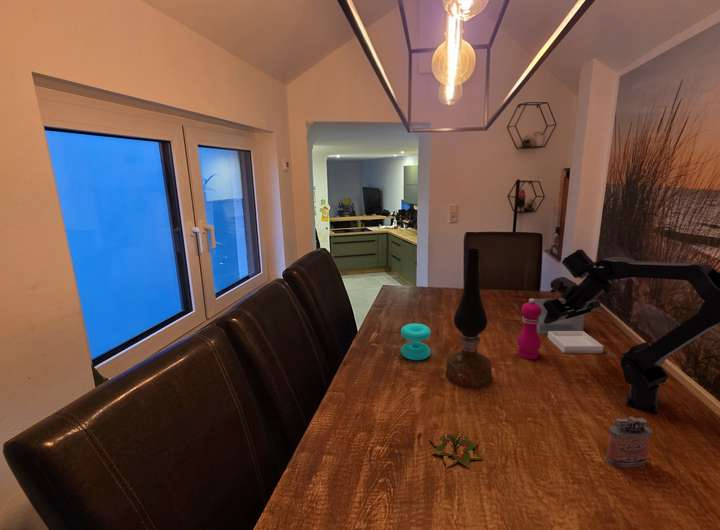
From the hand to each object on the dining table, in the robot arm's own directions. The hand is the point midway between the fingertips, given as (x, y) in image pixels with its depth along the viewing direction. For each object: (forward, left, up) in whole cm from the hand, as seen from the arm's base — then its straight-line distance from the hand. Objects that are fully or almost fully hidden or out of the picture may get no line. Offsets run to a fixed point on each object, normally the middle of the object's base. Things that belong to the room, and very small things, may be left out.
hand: (555, 320), depth 117 cm
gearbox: (+29, +5, -14) cm, 33 cm away
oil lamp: (-25, +18, -14) cm, 34 cm away
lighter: (-39, -22, -14) cm, 46 cm away
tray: (+16, -4, -14) cm, 22 cm away
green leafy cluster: (-57, +8, -15) cm, 59 cm away
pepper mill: (-1, +7, -14) cm, 16 cm away
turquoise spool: (-22, +38, -14) cm, 46 cm away
